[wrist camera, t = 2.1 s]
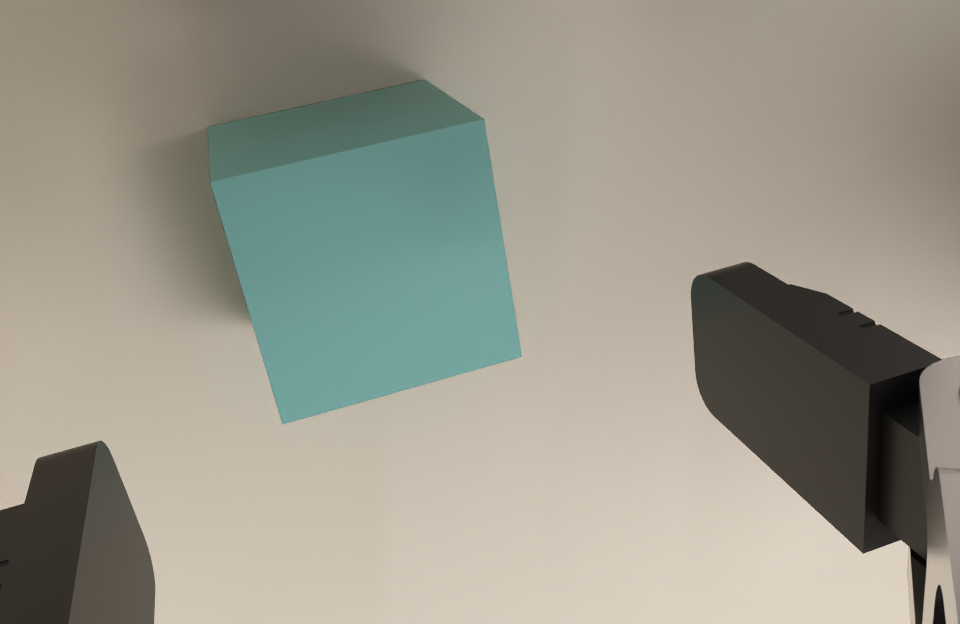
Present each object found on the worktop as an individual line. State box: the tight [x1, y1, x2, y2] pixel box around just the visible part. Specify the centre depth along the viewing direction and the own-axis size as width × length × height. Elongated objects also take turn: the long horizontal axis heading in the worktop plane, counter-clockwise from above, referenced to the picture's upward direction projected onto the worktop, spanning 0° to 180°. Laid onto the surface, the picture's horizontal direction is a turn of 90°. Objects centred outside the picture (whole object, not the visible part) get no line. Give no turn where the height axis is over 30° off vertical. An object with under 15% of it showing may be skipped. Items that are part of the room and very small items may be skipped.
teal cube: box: [208, 80, 522, 424], centre depth 19 cm, size 5×5×5 cm
